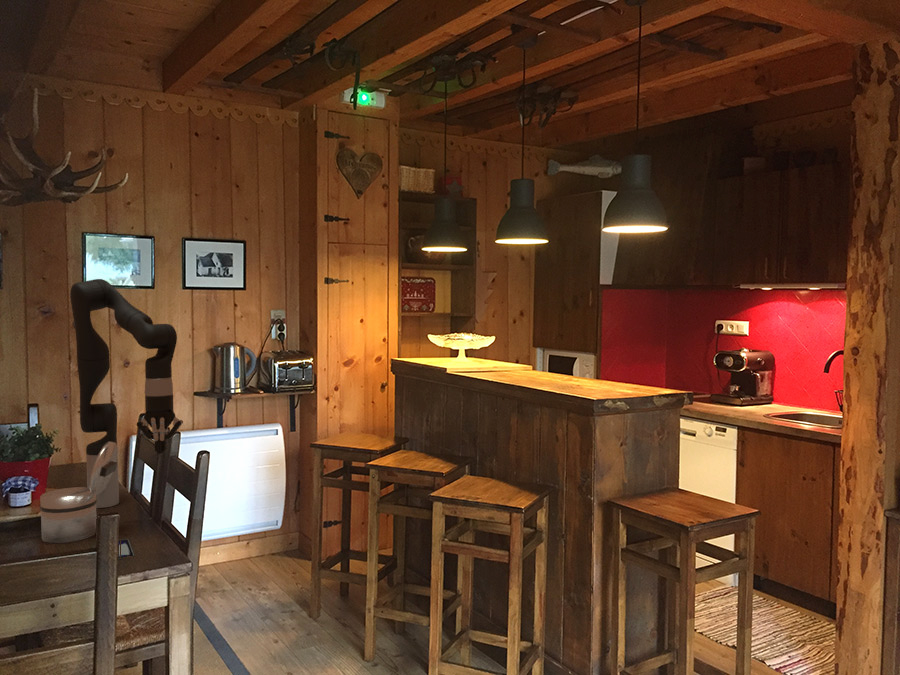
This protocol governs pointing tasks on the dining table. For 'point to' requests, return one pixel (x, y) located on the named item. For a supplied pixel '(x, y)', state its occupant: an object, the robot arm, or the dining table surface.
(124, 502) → the dining table surface
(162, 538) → the dining table surface
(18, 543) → the dining table surface
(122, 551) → the smartphone
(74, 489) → the pot
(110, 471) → the lid
